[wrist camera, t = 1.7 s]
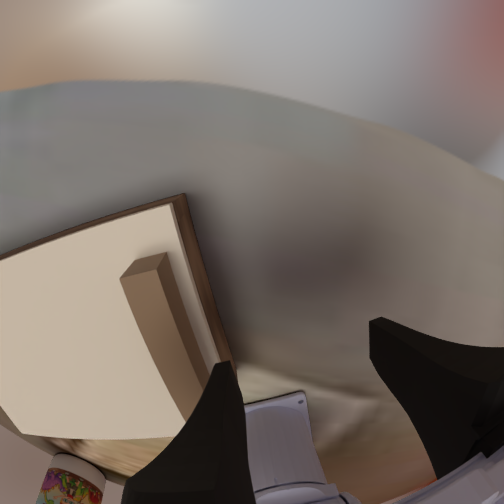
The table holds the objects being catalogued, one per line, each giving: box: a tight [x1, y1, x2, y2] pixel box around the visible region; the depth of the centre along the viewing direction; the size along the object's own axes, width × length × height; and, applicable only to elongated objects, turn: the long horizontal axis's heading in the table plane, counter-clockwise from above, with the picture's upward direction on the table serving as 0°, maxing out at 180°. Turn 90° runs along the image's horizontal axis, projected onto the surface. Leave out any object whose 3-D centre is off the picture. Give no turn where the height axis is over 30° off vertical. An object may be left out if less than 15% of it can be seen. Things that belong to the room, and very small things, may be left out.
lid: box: [0, 203, 221, 439], centre depth 13 cm, size 14×20×3 cm
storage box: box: [0, 193, 238, 382], centre depth 17 cm, size 14×20×5 cm
